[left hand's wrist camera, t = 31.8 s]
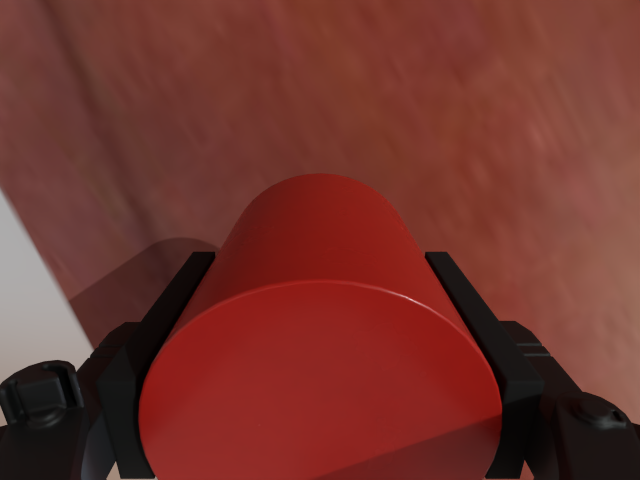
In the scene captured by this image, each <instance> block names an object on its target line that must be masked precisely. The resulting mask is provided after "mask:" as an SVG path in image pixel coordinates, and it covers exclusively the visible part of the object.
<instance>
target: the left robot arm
mask: <svg viewBox="0 0 640 480" xmlns="http://www.w3.org/2000/svg"><path fill="white" fill-rule="evenodd" d="M214 259H215V252H193V253H192V254H191V256H190V257H189V258H188V260H187V261H186V262H185V264H184V265H183V266H182V268H181V269H180V270H179V272H178V273H177V274H176V276H175V277H174V278H173V280H172V281H171V282H170V284H169V285H168V286H167V288H166V289H165V290H164V292H163V293H162V294H161V296H160V297H159V298H158V300H157V301H156V302H155V304H154V305H153V306H152V307H151V309H150V310H149V311H148V313H147V314H146V315H145V317H144V318H143V319H142V321H141V322H125V323H123V324H122V325H120V326H119V327H117V328H116V329H114V330H113V331H111V332H110V333H109V334H108V335H107V336H106V337H105V339H104V340H103V341H102V342H101V343H100V344H99V348H96V349H95V350H94V352H93V353H92V354H91V355H90V358H88V359H87V360H86V361H85V362H84V363H83V365H82V366H81V367H80V368H79V369H78V370H77V372H76V370H75V367H74V366H73V365H72V364H71V363H69V362H67V361H61V360H53V361H44V362H41V363H37V364H34V365H31V366H28V367H26V368H24V369H22V370H20V371H18V372H16V373H14V374H13V375H11V376H10V377H9V378H7V379H6V380H5V381H3V382H2V383H1V385H0V406H1V408H2V411H3V414H4V416H5V419H6V421H7V424H8V425H5V426H1V427H0V480H106V478H107V476H108V474H109V473H110V471H111V469H112V467H113V465H114V463H115V461H116V463H117V466H118V470H119V474H120V478H121V479H154V478H155V474H154V473H153V471H152V469H151V467H150V465H149V462H148V460H147V458H146V456H145V453H144V450H143V446H142V443H141V439H140V432H139V423H138V413H139V399H140V395H141V391H142V387H143V383H144V380H145V378H146V375H147V373H148V371H149V369H150V366H151V364H152V362H153V360H154V359H155V357H156V355H157V354H158V352H159V350H160V349H161V347H162V346H163V344H164V342H165V341H166V339H167V337H168V336H169V334H170V332H171V331H172V329H173V327H174V326H175V324H176V322H177V321H178V319H179V317H180V316H181V314H182V312H183V311H184V309H185V307H186V306H187V304H188V302H189V301H190V299H191V297H192V296H193V294H194V292H195V291H196V289H197V287H198V286H199V284H200V282H201V281H202V279H203V277H204V276H205V274H206V272H207V271H208V269H209V267H210V266H211V264H212V262H213V261H214ZM425 259H426V260H427V262H428V264H429V265H430V267H431V269H432V270H433V272H434V274H435V275H436V277H437V279H438V280H439V282H440V284H441V285H442V287H443V289H444V290H445V292H446V294H447V295H448V297H449V299H450V300H451V302H452V304H453V305H454V307H455V309H456V310H457V312H458V314H459V315H460V317H461V319H462V320H463V322H464V323H465V325H466V327H467V328H468V330H469V332H470V333H471V335H472V337H473V338H474V340H475V342H476V343H477V345H478V347H479V348H480V350H481V352H482V353H483V355H484V357H485V358H486V360H487V362H488V363H489V365H490V367H491V369H492V371H493V374H494V377H495V379H496V382H497V384H498V387H499V393H500V398H501V403H502V429H501V435H500V442H499V445H498V448H497V451H496V454H495V457H494V460H493V462H492V464H491V466H490V468H489V469H488V471H487V473H486V475H485V478H486V479H520V475H521V471H522V467H523V464H524V460H525V461H526V463H527V465H528V466H529V468H530V470H531V472H532V474H533V476H534V480H640V425H638V424H634V423H631V421H630V420H629V418H628V417H627V416H626V414H625V413H624V412H622V411H621V410H620V409H619V408H618V407H616V406H615V405H614V404H612V403H610V402H609V401H607V400H605V399H603V398H601V397H599V396H596V395H593V394H590V393H587V392H582V391H581V389H580V388H579V387H578V386H577V385H576V384H575V382H574V381H573V380H572V379H571V378H570V376H569V375H568V374H567V373H566V372H565V371H564V369H563V368H562V367H561V366H560V365H559V364H558V362H557V361H556V360H555V359H554V358H553V357H551V356H550V353H549V352H548V351H547V349H546V348H545V347H544V346H542V344H541V342H540V341H539V340H538V339H537V338H536V337H535V335H534V334H533V333H532V332H531V331H530V330H528V329H527V328H525V327H524V326H522V325H520V324H519V323H517V322H516V321H499V320H498V319H497V318H496V316H495V315H494V314H493V312H492V311H491V310H490V308H489V307H488V306H487V304H486V303H485V302H484V301H483V299H482V298H481V297H480V295H479V294H478V293H477V291H476V290H475V289H474V287H473V286H472V285H471V283H470V282H469V281H468V279H467V278H466V277H465V275H464V274H463V273H462V271H461V270H460V269H459V267H458V266H457V265H456V263H455V262H454V261H453V259H452V258H451V257H450V255H449V254H448V253H447V252H425Z"/></svg>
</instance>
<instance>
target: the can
mask: <svg viewBox="0 0 640 480" xmlns="http://www.w3.org/2000/svg"><path fill="white" fill-rule="evenodd" d="M138 423H139V432H140V439H141V443H142V446H143V450H144V453H145V456H146V458H147V460H148V462H149V465H150V467H151V469H152V471H153V473H154V474H155V476H156V477H157V479H158V480H483V478H484V477H485V475H486V473H487V471H488V469H489V468H490V466H491V464H492V462H493V460H494V457H495V454H496V451H497V448H498V445H499V442H500V435H501V429H502V403H501V398H500V393H499V387H498V384H497V382H496V379H495V377H494V374H493V371H492V369H491V367H490V365H489V363H488V362H487V360H486V358H485V357H484V355H483V353H482V352H481V350H480V348H479V347H478V345H477V343H476V342H475V340H474V338H473V337H472V335H471V333H470V332H469V330H468V328H467V327H466V325H465V323H464V322H463V320H462V319H461V317H460V315H459V314H458V312H457V310H456V309H455V307H454V305H453V304H452V302H451V300H450V299H449V297H448V295H447V294H446V292H445V290H444V289H443V287H442V285H441V284H440V282H439V280H438V279H437V277H436V275H435V274H434V272H433V270H432V269H431V267H430V265H429V264H428V262H427V260H426V259H425V257H424V255H423V254H422V252H421V250H420V249H419V247H418V246H417V244H416V242H415V241H414V239H413V237H412V236H411V234H410V232H409V231H408V229H407V227H406V226H405V224H404V222H403V221H402V219H401V217H400V216H399V214H398V212H397V211H396V210H395V209H394V207H393V206H392V205H391V204H390V203H389V202H388V201H387V200H386V199H385V198H384V197H383V196H382V195H381V194H379V193H378V192H377V191H375V190H374V189H372V188H371V187H369V186H367V185H365V184H363V183H361V182H359V181H356V180H354V179H351V178H348V177H344V176H339V175H334V174H307V175H301V176H296V177H293V178H289V179H286V180H283V181H281V182H279V183H277V184H275V185H273V186H271V187H270V188H268V189H267V190H265V191H263V192H262V193H261V194H260V195H258V196H257V197H256V198H255V199H254V200H253V201H252V202H251V203H250V204H249V205H248V206H247V208H246V209H245V210H244V212H243V213H242V215H241V216H240V218H239V219H238V221H237V223H236V224H235V226H234V227H233V229H232V231H231V232H230V234H229V236H228V237H227V239H226V241H225V242H224V244H223V246H222V247H221V249H220V251H219V252H218V254H217V256H216V257H215V259H214V261H213V262H212V264H211V266H210V267H209V269H208V271H207V272H206V274H205V276H204V277H203V279H202V281H201V282H200V284H199V286H198V287H197V289H196V291H195V292H194V294H193V296H192V297H191V299H190V301H189V302H188V304H187V306H186V307H185V309H184V311H183V312H182V314H181V316H180V317H179V319H178V321H177V322H176V324H175V326H174V327H173V329H172V331H171V332H170V334H169V336H168V337H167V339H166V341H165V342H164V344H163V346H162V347H161V349H160V350H159V352H158V354H157V355H156V357H155V359H154V360H153V362H152V364H151V366H150V369H149V371H148V373H147V375H146V378H145V380H144V383H143V387H142V391H141V395H140V399H139V413H138Z"/></svg>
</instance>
